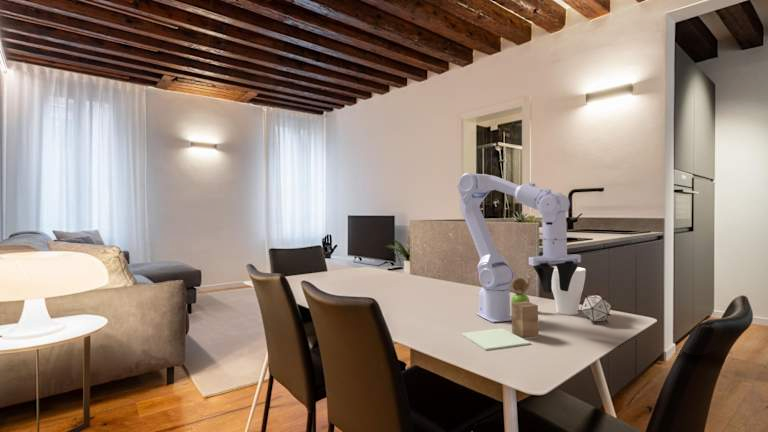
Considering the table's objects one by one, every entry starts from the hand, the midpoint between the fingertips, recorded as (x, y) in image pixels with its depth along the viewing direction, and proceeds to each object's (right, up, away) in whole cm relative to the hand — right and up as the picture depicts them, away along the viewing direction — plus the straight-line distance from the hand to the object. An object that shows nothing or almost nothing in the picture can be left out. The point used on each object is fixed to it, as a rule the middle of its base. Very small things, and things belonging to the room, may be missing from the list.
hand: (555, 291), depth 100 cm
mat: (-17, -11, -5) cm, 21 cm away
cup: (+12, -10, +18) cm, 23 cm away
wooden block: (-9, -11, -2) cm, 14 cm away
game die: (+14, -10, +7) cm, 19 cm away
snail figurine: (-1, -10, +22) cm, 24 cm away
